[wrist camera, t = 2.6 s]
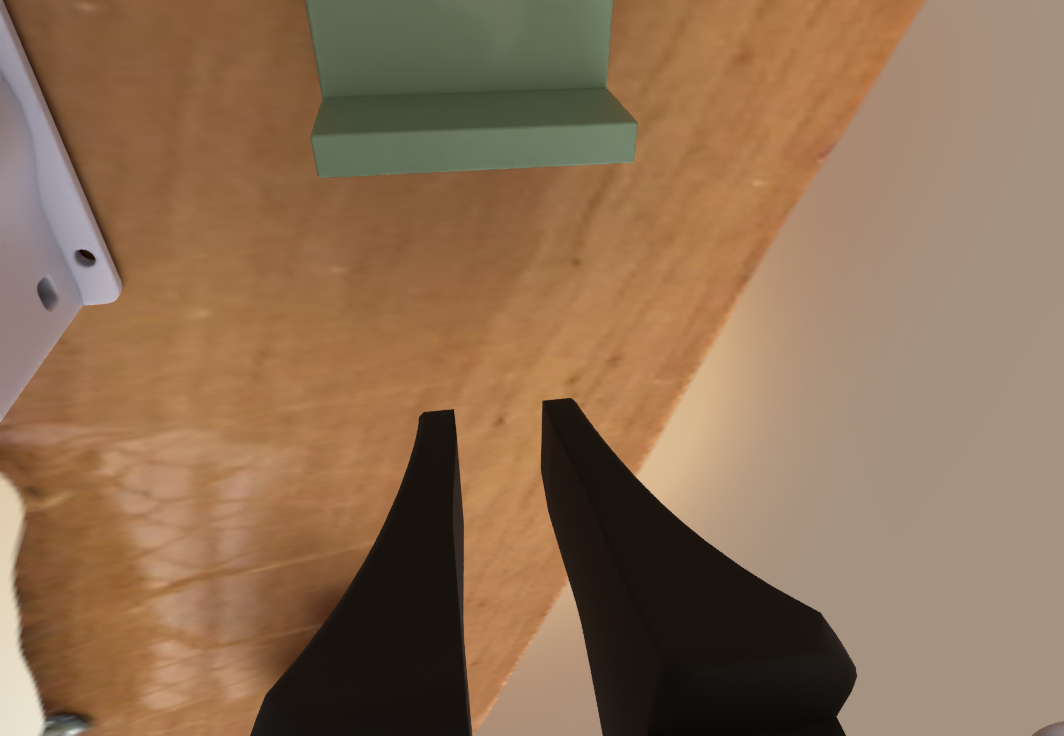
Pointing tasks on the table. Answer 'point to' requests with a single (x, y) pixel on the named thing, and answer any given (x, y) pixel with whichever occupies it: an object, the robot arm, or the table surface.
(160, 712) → the table surface
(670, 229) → the table surface
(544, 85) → the green seat
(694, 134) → the table surface
